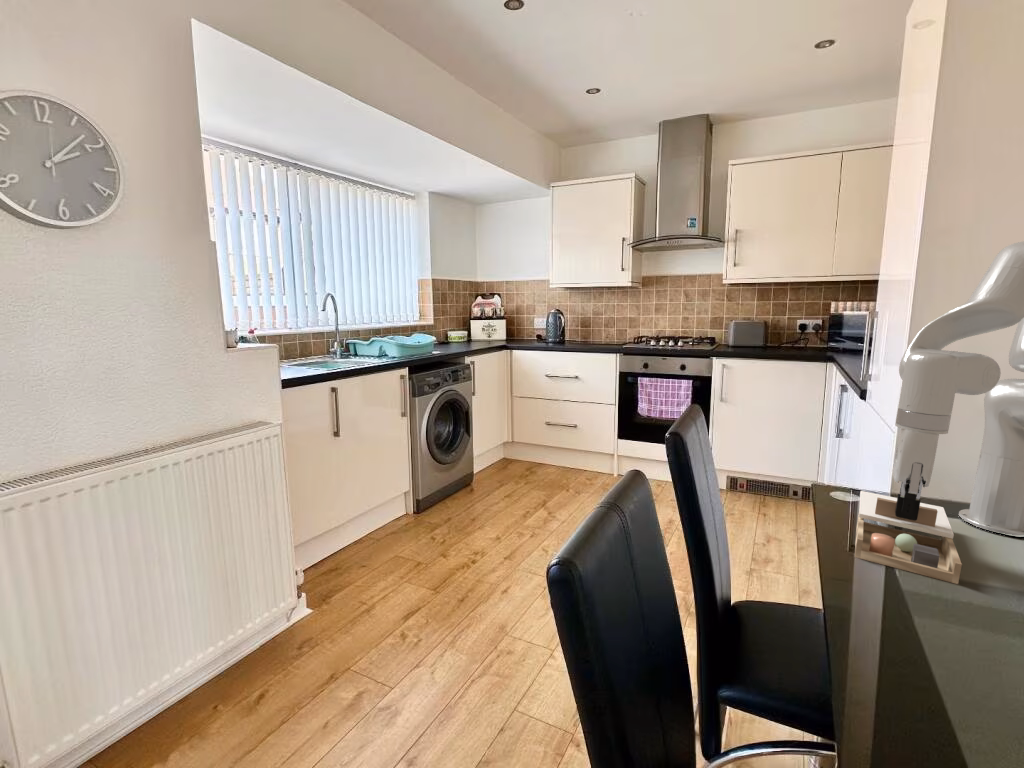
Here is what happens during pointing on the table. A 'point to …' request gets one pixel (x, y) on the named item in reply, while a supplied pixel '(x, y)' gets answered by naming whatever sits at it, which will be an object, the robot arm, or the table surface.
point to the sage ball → (905, 542)
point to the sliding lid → (884, 512)
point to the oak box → (902, 560)
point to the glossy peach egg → (882, 544)
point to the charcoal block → (925, 555)
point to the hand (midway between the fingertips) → (905, 517)
